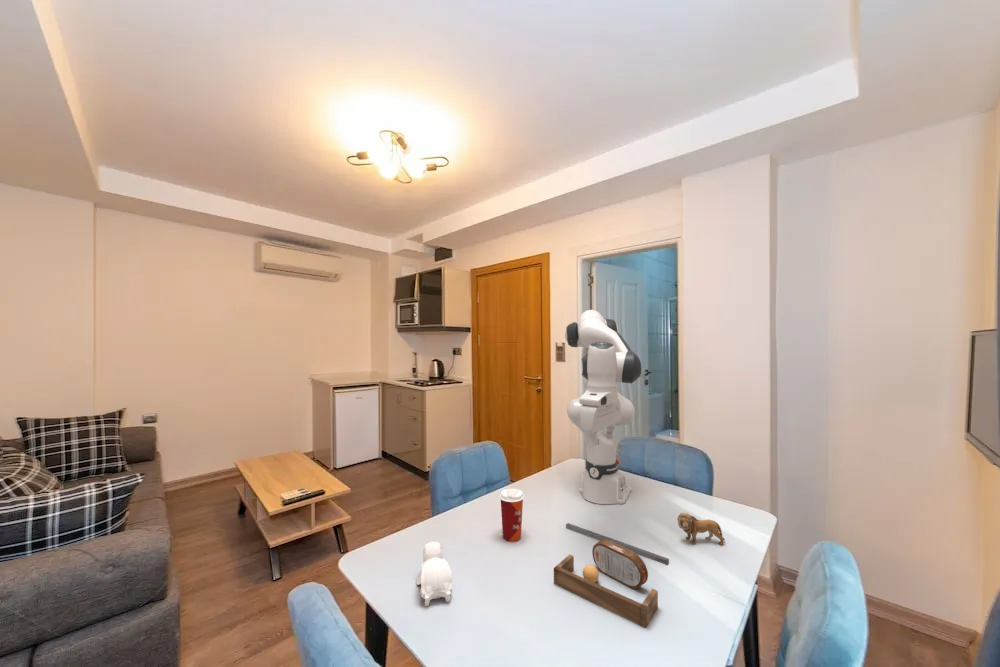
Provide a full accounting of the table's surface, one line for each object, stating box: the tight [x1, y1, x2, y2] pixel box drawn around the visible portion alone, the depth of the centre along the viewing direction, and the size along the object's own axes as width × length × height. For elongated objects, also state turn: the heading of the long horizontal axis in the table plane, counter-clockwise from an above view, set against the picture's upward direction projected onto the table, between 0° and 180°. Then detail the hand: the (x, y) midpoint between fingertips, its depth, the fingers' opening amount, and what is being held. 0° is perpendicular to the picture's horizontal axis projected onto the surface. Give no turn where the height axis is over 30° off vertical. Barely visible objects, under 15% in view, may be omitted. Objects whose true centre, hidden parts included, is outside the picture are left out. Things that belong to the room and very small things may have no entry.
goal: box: [553, 554, 659, 629], centre depth 94 cm, size 8×23×4 cm, turn 50°
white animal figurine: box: [416, 541, 453, 607], centre depth 97 cm, size 8×8×15 cm
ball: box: [582, 564, 600, 583], centre depth 99 cm, size 4×4×4 cm
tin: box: [591, 539, 649, 589], centre depth 100 cm, size 15×3×8 cm, turn 41°
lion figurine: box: [677, 512, 726, 546], centre depth 118 cm, size 15×5×9 cm, turn 94°
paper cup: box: [499, 488, 525, 543], centre depth 121 cm, size 8×8×14 cm
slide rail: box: [565, 522, 670, 566], centre depth 117 cm, size 1×32×1 cm, turn 50°
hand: (602, 441), depth 116 cm, fingers open, 8 cm apart
